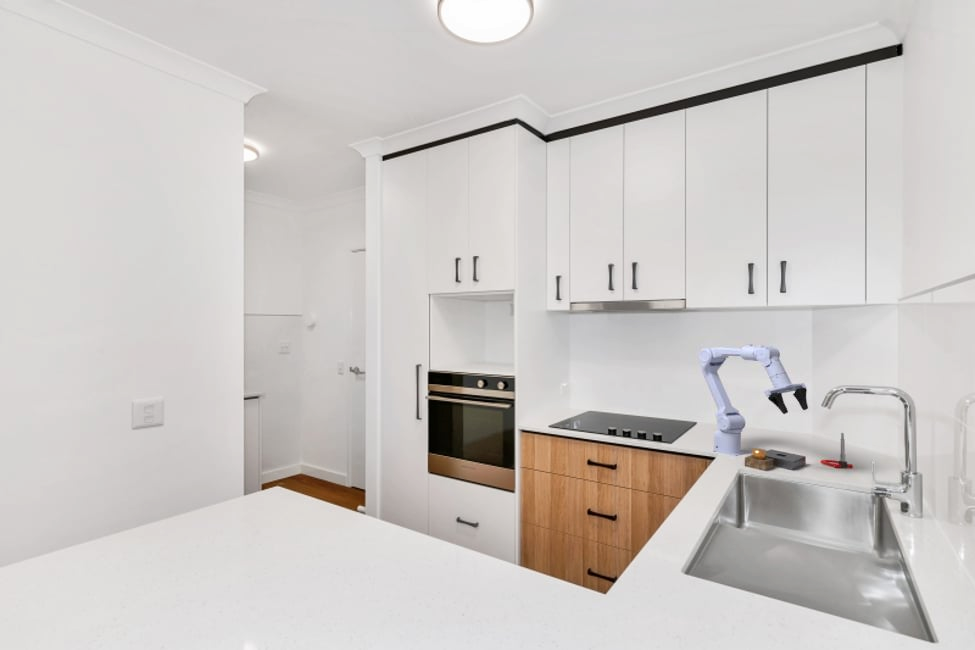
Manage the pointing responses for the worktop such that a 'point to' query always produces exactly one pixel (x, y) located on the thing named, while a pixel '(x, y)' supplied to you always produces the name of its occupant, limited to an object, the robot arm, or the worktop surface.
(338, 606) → the worktop surface
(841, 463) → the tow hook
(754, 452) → the pin
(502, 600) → the worktop surface
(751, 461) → the block
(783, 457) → the hitch block
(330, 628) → the worktop surface
